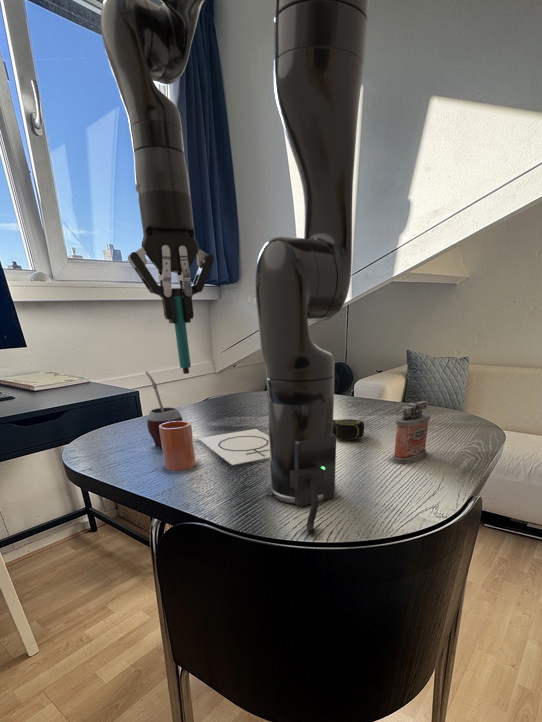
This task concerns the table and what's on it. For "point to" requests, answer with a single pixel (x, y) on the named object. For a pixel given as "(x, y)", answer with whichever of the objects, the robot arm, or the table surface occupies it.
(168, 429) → the pen cup
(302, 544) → the table surface
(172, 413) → the mate gourd
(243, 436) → the sketch pad
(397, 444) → the lighter
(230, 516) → the table surface
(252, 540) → the table surface
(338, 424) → the tape measure
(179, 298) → the pen
